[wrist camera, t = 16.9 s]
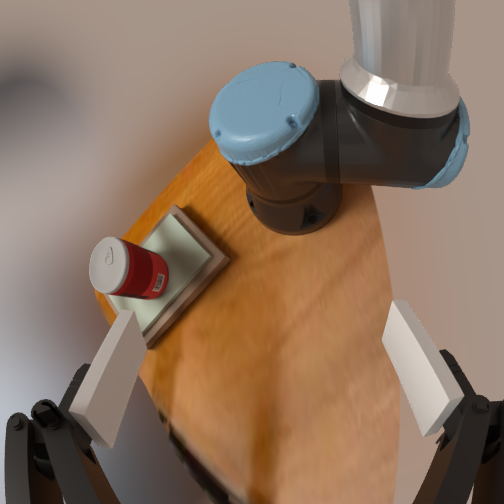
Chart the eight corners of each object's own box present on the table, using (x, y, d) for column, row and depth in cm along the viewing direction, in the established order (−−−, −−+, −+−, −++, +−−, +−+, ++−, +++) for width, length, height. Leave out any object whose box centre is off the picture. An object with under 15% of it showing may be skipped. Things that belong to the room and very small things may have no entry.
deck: (181, 208, 52) (171, 201, 49) (231, 259, 47) (222, 255, 44) (111, 293, 53) (99, 291, 50) (148, 349, 48) (136, 350, 45)
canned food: (164, 245, 47) (121, 226, 37) (175, 291, 45) (131, 282, 34) (130, 263, 49) (85, 249, 38) (139, 306, 46) (93, 301, 36)
